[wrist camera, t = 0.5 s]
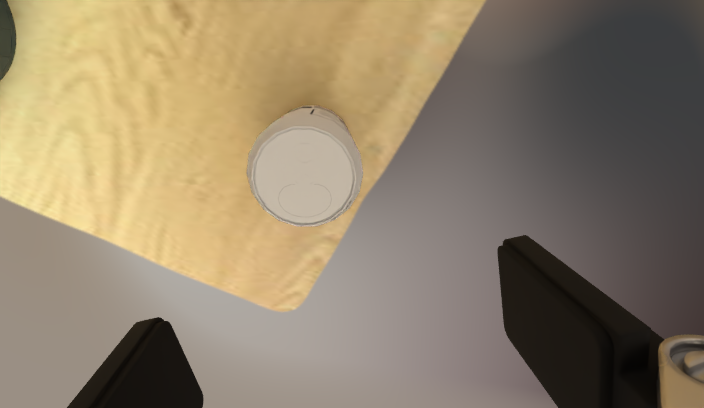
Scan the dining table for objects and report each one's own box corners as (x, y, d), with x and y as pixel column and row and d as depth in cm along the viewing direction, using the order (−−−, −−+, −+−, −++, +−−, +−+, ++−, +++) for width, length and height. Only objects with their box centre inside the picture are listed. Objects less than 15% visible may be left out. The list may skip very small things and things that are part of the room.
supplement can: (350, 180, 40) (363, 233, 25) (275, 181, 39) (246, 235, 25) (351, 105, 37) (367, 117, 23) (271, 104, 36) (236, 115, 22)
